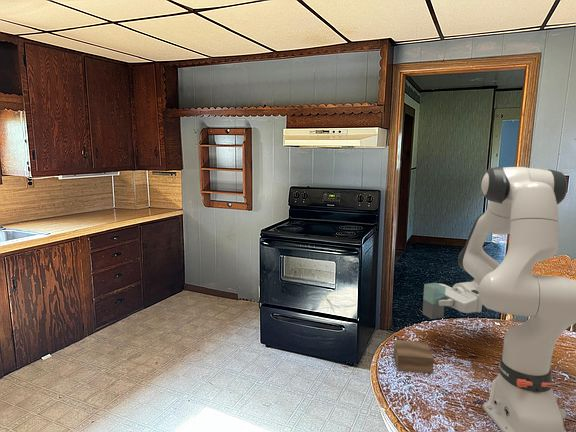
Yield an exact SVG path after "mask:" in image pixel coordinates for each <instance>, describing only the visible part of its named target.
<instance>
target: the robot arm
mask: <svg viewBox="0 0 576 432" xmlns="http://www.w3.org/2000/svg"><path fill="white" fill-rule="evenodd" d="M480 186H481V191H482V196H483V197H484V198H485V199H486V200H487V201H488V203H487V208H486V210H485V212H482V213H480V214H479V215H478V217H477V218H476V219H475V221H474V223H473V225H472V228H471V229H470V232H469V235H468V237H467V240H466V242H465V245H464V247H463V248H462V249H461V251H460V252H459V255H458V259H457V265H458V266H459V268H460V269H462V270H463V271H464V272H466V273H468V274H469V275H470V276H471V277H472V278H474V279H473V280H472V281H465V282H457V283H455V284H454V285H452V287H451V286H449V285H447V284H445V283H439V284H440V285H442V286H444V287H446V290H445V300H442V299H438V300H437V304H438V305H439V306H443V305H444V307H450V308H453V309H455V310H457V311H459V312H460V313H464V314H471V313H482V309H483V306H484V307H485V308H486V309H487V310H490V311H494V312H497V313H501V314H503V315H512V316H521V317H527V318H528V319H527V320H526V321H523V322H522V323H520V324H517V325H514V326H512V327H510V328H509V329H508V330H507V331H506V332H505V334H504V338H503V346H502V347H503V348H502V356H501V357H500V359H499V363H498V374H497V376H496V377H495V378H494V379H493V380H492V382H491V386H490V387H491V388H490V393H489V398H488V401H486V402H484V403H483V404H482V405H483V406H482V409H483V411H485V413H486V414H487V415H488V416H489V417H490V419H491V420H492V421H493V422H494V423H495V425H496V426H497V427H498V429H500V430H501V432H567V430H566V428H565V425H564V420H565V419H566V418H567V412H566V410H565V409H564V408H560V407H559V404H558V400H559V398H558V396H557V395H555V393H554V391H553V375H552V370H551V369H552V368H551V363H552V358H553V357H552V356H553V352H554V349H555V345H556V343H557V341H558V339H560V338H559V337H560V336H561V335H562V334H563V332H565V331H566V330H567V329H568V328H569V327H571V326H572V325H574V324H576V279H572V278H568V277H564V276H554V275H542V274H535V273H533V268H534V266H535V265H536V264H538V263H542V262H543V261H546V260H550V259H551V258H553V257H554V256H555V255H556V254H557V253H558V251H559V247H560V246H559V210H558V205H559V204H560V203H562V202H563V201H564V200H565V198H566V195H567V192H568V180H567V177H566V176H565V174H564V173H563V172H561V171H558V170H554V169H542V168H536V167H535V168H533V167H527V166H508V167H507V166H506V167H502V166H496V167H495V166H494V167H490V168H488V169H487V170H486V171H485V173H484V175H483V177H482V179H481V184H480ZM489 234H493V235H497V236H499V235H501V236H502V235H509V238H508V239H509V242H508V248H507V252H506V254H505V256H504V259H503V260H502V261H501V262H500V263H499V262H498V261H497V260H496V259H494V258H493V257H491V256H490V255H489V254H488V253H486V252H485V249H484V247H483V246H484V244H485V241H486V239H487V237H488V235H489Z"/></svg>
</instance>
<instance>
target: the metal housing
mask: <svg viewBox="0 0 576 432" xmlns="http://www.w3.org/2000/svg"><path fill="white" fill-rule="evenodd" d="M440 284H441V283H438V282H432V283H424V285H423V298H422V299H423V300H422V315H423V316H426V317H427V318H428V319H430V320H436V319H437V320H438V319H442V318H444V316H445V315H444V314H445V306H444V305H443V306H439V305H438V304H437V300H438V299H442V300H445V290H446V287H444V286H442V285H440Z"/></svg>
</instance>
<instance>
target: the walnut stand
mask: <svg viewBox="0 0 576 432" xmlns="http://www.w3.org/2000/svg"><path fill="white" fill-rule="evenodd" d="M393 356H394V361H395V365H396V366H395V367H396V371H401V372H402V371H403V372H415V373H429V374H434V363H435V358H434V355H433V353H432V350H431V348H430V346H429V344H428V341H416V340H415V341H414V340H404V339H403V340H402V339H401V340H399V339H394V340H393Z"/></svg>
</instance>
